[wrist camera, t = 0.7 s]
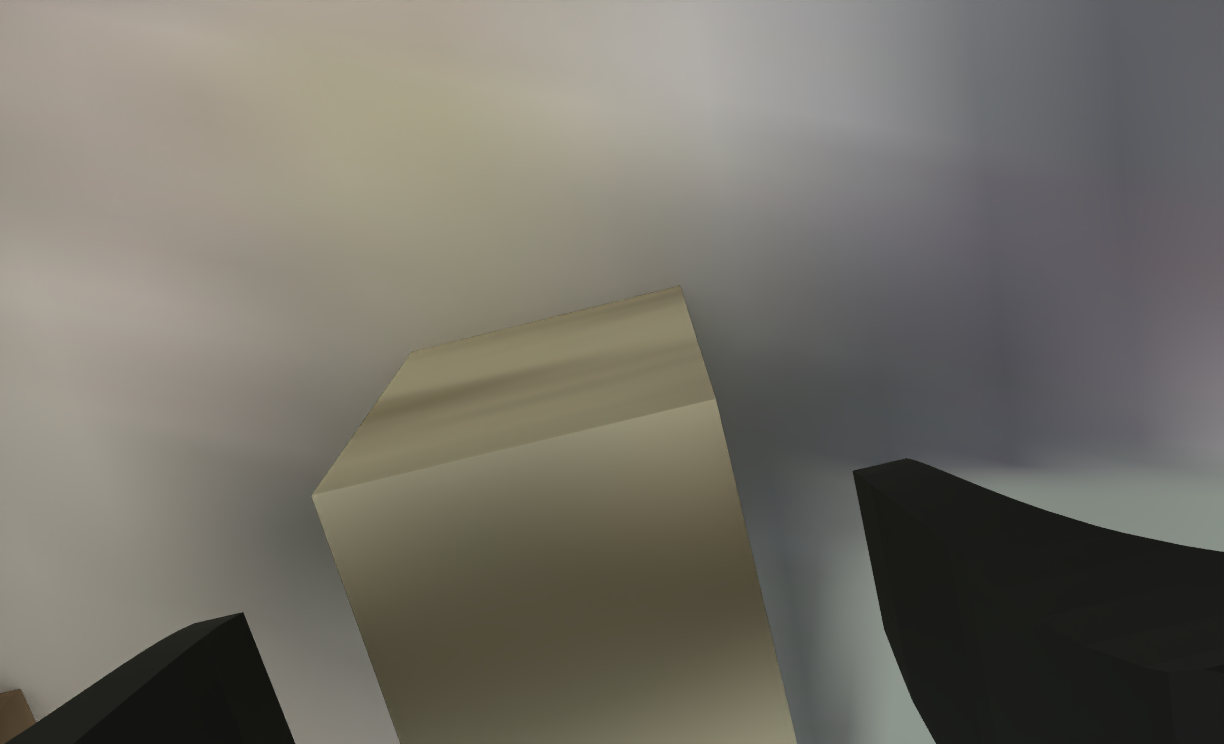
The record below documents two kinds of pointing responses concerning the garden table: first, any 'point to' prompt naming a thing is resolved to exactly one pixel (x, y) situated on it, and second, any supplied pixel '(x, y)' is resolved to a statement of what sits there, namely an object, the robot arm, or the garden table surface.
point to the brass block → (556, 541)
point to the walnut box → (14, 715)
